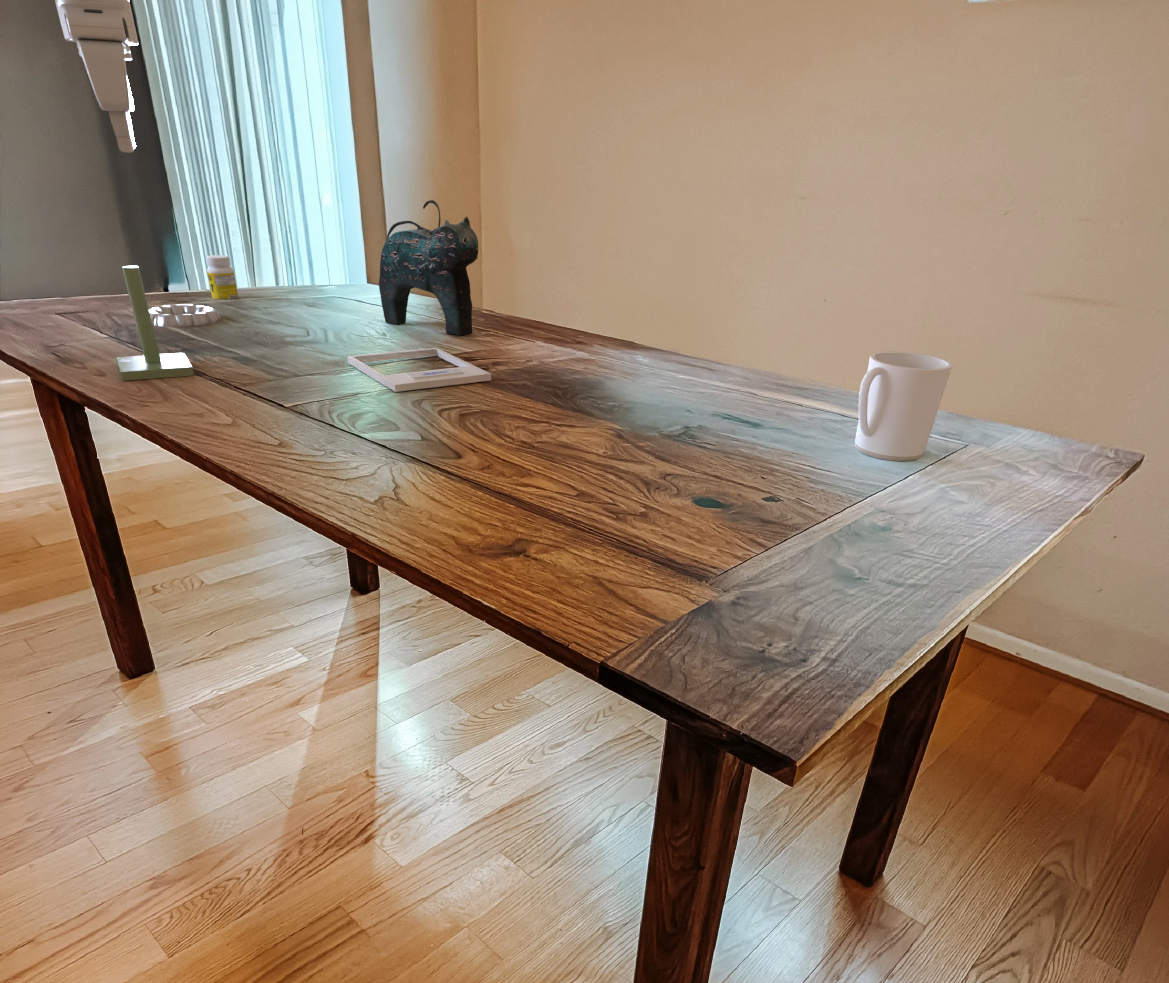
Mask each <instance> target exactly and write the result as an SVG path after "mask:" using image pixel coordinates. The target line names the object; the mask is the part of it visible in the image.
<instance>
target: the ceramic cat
mask: <svg viewBox="0 0 1169 983" xmlns="http://www.w3.org/2000/svg"><path fill="white" fill-rule="evenodd" d="M429 204H433V205H434V206H435V207H436V209H437V213H438V224H437V227H436V228H434V229H433V230H431V229H429V228H425V227H423V226H421V225H420V224H418V223H417V222H414V221H412V220H401V221H398V222H396V223H393V224H392V226H390V228H389V230H388V232H387V235H386V240H385V242H384V244H383V246H382V249H381V253H380V260H379V278H378V291H379V295H380V304H381V308H382V312H383V317H384V321H385V323H386V324H390V325H395V326H396V325H397V326H399V325H404V324H406V323H407V313H408V312H407V310H408V305H409V304H408V303H409V296H410V293H411V290H412V289H417V290H421V291H424V292H428V293H431V294H433V295H434V296H435V297H436V299H437V301H438V304H439V305H440V307H441V310H442V312H443V315H444V320H445V321H444V322H445V334H446V335H455V336H459V337H463V336H467V335H471V334H473V318H472V317H473V316H472V315H473V301H472V298H471V296H472V295H471V282H470V278H469V274H468V270H467V267H468V266H470V265H472V264H473V263H474V262H476V260H478V256H479V239H478V235H477V233H475V231H474V230H473V229H472V226H471V221H470V219H469V217H468V216H465V217H464V218H463V219H462V220H461V221H460V222H459V223H456V224H454V223H450V222H449V220H448V219H445V221H444V223H443V225H441V220H442V219H441V210H440V207H439V206H440V205H439V204H438V203H437V202H436V201H435V200H433V199H429V200H426V202H425V203H424V204H423V206H422V209H423V210H425V209H426V207H427V206H428V205H429ZM406 224H410V225H413V226H415V227H416V228H417V229H406V230H398V231H395V232H394V233H392V232H393V231H394V230H395V228H396V227H398V226H401V225H402V226H403V225H406ZM391 233H392V234H391Z"/></svg>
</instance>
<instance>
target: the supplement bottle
mask: <svg viewBox="0 0 1169 983" xmlns="http://www.w3.org/2000/svg"><path fill="white" fill-rule="evenodd" d="M205 259H206V264H207V266H208V267H207V269H206V274H207V279H208V283H209V289H210V293H211V298H212V299H214V300H234V299H238V298H239V292H238V286H237V282H236V276H235V271H234V269H233V268H232V266H231V260H230V256H229V255H223V254H212V255H211V254H210V255H207V256H206V257H205Z"/></svg>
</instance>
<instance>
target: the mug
mask: <svg viewBox="0 0 1169 983" xmlns="http://www.w3.org/2000/svg"><path fill="white" fill-rule="evenodd" d="M867 366H868V367H867V369H866V370H867V371H866V373H865V374H864V376H863V378H862V380H861V382H860V387H859V393H858V405H857V406H858V408H857V409H858V410H857V411H858V422H857V423H858V424H857V427H856V434H855V439H854V446H855V449H856V450H857V451H858V452H860V453H861V454H863V455H866V456H868V457H872V458H875V459H879V460H885V461H894V462H910V461H916V460H919V459H921V458H922V457H923V456H924V455H925V451H926V448H927V445H928V443H929V439H930V436H931V433H932V430H933V427H934V423H935V421H936V417H937V415H938V411H939V409H940V405H941V402H942V399H943V396H944V393H945V390H946V387H947V383H948V381H949V378H950V374H951V372H952V369H953V363H952V362H951V361H950V360H947V359H946V358H942V357H939V356H935V355H930V354H925V353H919V352H910V351H894V350H893V351H891V350H890V351H889V350H888V351H877V352H874V353H872V354H871V355H870V356H869V360H868V365H867Z"/></svg>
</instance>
